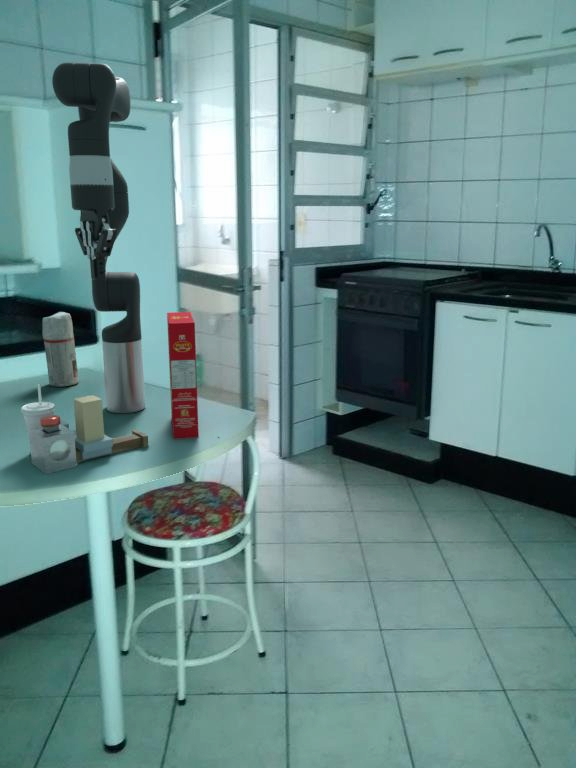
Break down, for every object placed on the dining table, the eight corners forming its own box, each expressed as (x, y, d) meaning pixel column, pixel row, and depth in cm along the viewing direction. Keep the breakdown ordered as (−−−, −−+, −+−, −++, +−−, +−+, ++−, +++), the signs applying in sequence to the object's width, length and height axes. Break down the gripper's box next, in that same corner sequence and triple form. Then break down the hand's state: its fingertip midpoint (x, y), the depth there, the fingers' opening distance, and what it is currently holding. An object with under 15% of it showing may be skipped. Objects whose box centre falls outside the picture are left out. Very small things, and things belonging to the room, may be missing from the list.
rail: (64, 457, 136) (63, 446, 136) (136, 440, 146) (136, 429, 146) (74, 464, 133) (73, 453, 132) (148, 446, 143) (147, 435, 142)
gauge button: (40, 453, 132) (37, 417, 130) (58, 449, 134) (55, 414, 133) (47, 458, 129) (44, 422, 128) (66, 454, 132) (63, 418, 130)
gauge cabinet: (32, 463, 133) (28, 429, 131) (62, 456, 137) (59, 422, 135) (46, 474, 128) (43, 438, 126) (77, 466, 132) (74, 432, 130)
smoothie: (64, 451, 140) (58, 385, 136) (34, 459, 135) (27, 391, 132) (50, 444, 144) (44, 379, 140) (20, 451, 140) (13, 385, 136)
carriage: (49, 443, 143) (44, 390, 140) (81, 436, 148) (77, 385, 145) (80, 463, 132) (75, 406, 129) (113, 455, 137) (109, 399, 134)
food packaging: (171, 418, 161) (167, 312, 155) (194, 417, 162) (190, 312, 156) (173, 438, 147) (168, 323, 141) (198, 437, 148) (194, 322, 142)
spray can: (67, 388, 187) (61, 315, 182) (41, 386, 189) (35, 314, 184) (85, 381, 195) (79, 311, 190) (59, 379, 197) (53, 310, 192)
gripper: (128, 182, 121) (133, 281, 126) (95, 184, 131) (101, 275, 136) (88, 181, 117) (95, 284, 121) (57, 183, 127) (64, 278, 131)
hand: (98, 279), depth 128 cm, fingers closed
